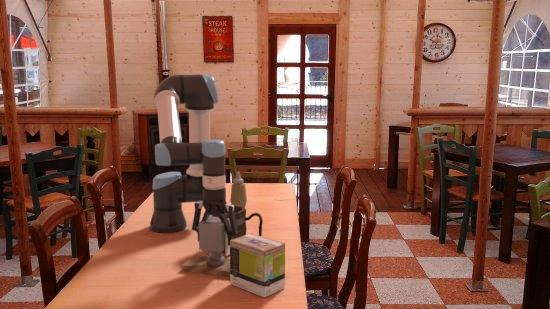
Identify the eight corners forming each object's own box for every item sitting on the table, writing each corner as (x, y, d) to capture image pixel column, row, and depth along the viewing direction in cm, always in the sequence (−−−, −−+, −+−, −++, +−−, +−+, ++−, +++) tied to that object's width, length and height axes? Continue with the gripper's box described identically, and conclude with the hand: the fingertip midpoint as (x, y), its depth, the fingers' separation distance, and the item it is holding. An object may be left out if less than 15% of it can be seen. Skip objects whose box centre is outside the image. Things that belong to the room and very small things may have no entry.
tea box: (286, 288, 154) (286, 242, 151) (263, 299, 146) (263, 251, 144) (251, 274, 164) (251, 231, 161) (229, 284, 156) (228, 239, 154)
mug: (207, 253, 183) (206, 213, 180) (216, 240, 196) (215, 203, 193) (259, 255, 180) (259, 215, 178) (265, 242, 194) (265, 205, 191)
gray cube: (199, 249, 164) (198, 222, 163) (209, 241, 172) (209, 216, 170) (221, 251, 162) (221, 225, 160) (231, 243, 169) (230, 218, 168)
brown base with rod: (182, 270, 167) (180, 224, 164) (196, 259, 176) (194, 216, 173) (237, 278, 160) (236, 231, 158) (248, 267, 170) (248, 222, 167)
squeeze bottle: (246, 210, 237) (246, 173, 234) (229, 210, 237) (229, 173, 234) (247, 206, 245) (247, 170, 242) (231, 205, 245) (230, 170, 242)
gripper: (179, 187, 163) (181, 252, 167) (240, 192, 156) (240, 260, 160) (190, 182, 170) (192, 245, 174) (248, 187, 163) (249, 252, 167)
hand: (215, 252), depth 167 cm, fingers open, 9 cm apart
